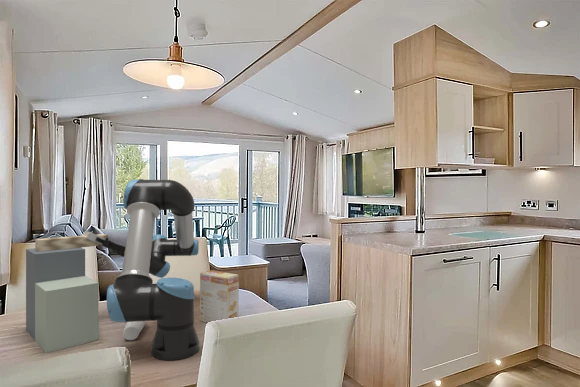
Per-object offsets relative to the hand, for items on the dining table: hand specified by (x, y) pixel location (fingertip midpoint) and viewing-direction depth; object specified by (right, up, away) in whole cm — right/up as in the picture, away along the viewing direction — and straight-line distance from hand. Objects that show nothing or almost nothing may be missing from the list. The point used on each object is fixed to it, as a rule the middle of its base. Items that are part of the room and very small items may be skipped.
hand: (85, 234), depth 151 cm
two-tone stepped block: (-3, -35, -12) cm, 37 cm away
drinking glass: (+24, -33, -17) cm, 44 cm away
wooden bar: (-3, -5, -3) cm, 6 cm away
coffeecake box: (+51, -36, +3) cm, 63 cm away
